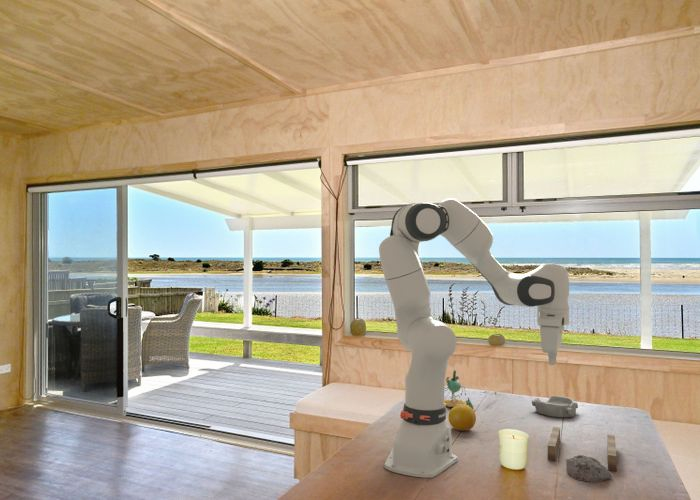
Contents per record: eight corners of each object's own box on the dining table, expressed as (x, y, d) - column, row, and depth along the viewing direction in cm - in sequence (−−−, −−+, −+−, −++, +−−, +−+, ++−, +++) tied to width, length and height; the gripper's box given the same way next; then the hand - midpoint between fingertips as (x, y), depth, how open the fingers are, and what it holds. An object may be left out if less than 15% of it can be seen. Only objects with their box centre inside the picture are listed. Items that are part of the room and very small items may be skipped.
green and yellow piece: (458, 414, 182) (455, 373, 184) (432, 407, 199) (430, 368, 200) (480, 411, 186) (477, 370, 187) (453, 404, 202) (450, 366, 204)
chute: (616, 471, 132) (616, 456, 132) (547, 459, 140) (547, 445, 140) (615, 449, 148) (614, 435, 149) (553, 439, 156) (553, 426, 156)
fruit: (447, 432, 162) (447, 407, 163) (449, 424, 170) (449, 400, 170) (475, 435, 160) (475, 409, 160) (476, 427, 167) (476, 403, 168)
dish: (528, 412, 186) (528, 398, 186) (547, 405, 194) (547, 392, 195) (566, 422, 174) (566, 407, 175) (584, 414, 183) (584, 400, 183)
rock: (566, 465, 136) (567, 450, 136) (612, 474, 131) (612, 458, 131) (563, 478, 129) (563, 462, 129) (611, 487, 123) (611, 470, 123)
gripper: (545, 314, 161) (545, 357, 161) (537, 319, 143) (536, 368, 143) (567, 315, 158) (566, 359, 158) (561, 321, 140) (560, 371, 140)
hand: (552, 364), depth 150 cm, fingers closed
